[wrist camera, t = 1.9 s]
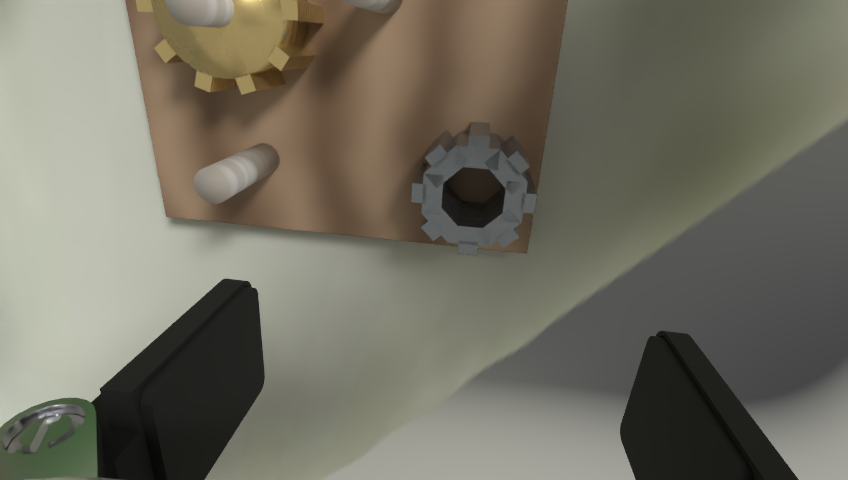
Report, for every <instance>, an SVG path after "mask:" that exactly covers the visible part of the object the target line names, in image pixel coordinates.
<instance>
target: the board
mask: <svg viewBox="0 0 848 480" xmlns="http://www.w3.org/2000/svg"><path fill="white" fill-rule="evenodd" d="M165 2H166V6H167V9H168V11H169V13H170V14H171V16H172V17H173V18H174V19H175V20H176V21H177V22H179V23H181V24H183V25H186V26H197V27H214V28H221V27H225V26H226V25H228V24H229V23H230V22H231V20H232V18H233V15H234V4H233V1H232V0H165ZM567 2H568V0H308V3H311V4H315V5H319V6H324V24H321V23H309V31H308V35H307V39H306V41H305V44H304V46H306V47H307V48H308V49H309V50H310V51H312V52H313V53H314V54H315V55H316V56H315V57H314V59H313V61H312V62H311V64H310V65H309V67H308V68H301V69H293V70H286V71H281V72H282V75H283V78H284V81H285V83H286V85H282V86H279V87H275V88H272V89H267V90H262V91H257V92H253V93H248V94H243V95H241V92H240V90H239V87H238V88H232V89H227V90H221V91H215V92H207V91H205V90H203V89H200V88H198V87H195V86H194V85H195V78H196V72H197V70H196V69H194V68H192V67H191V66H190V65H188V64H187V63H186V62H179V63H165V62H164V61H163V59H162V58H161V57H160V55H159V54H158V53H157V52H156V50H155V49H154V48H155V47H156V46H157V45H158V44H159V43H160V42H161V41H162V40H164V39H165V38H164V36H163V35H162V33H161V31H160V29H159V26H158V24H157V22H156V19H155V16H154V13H149V12H139V11H137V5H136V0H126V5H127V10H128V16H129V21H130V26H131V32H132V37H133V42H134V48H135V53H136V58H137V64H138V69H139V74H140V80H141V85H142V90H143V95H144V101H145V106H146V111H147V117H148V122H149V127H150V133H151V138H152V143H153V149H154V154H155V159H156V165H157V170H158V175H159V181H160V186H161V191H162V196H163V202H164V207H165V212H166V217H175V218H185V219H194V220H204V221H214V222H224V223H234V224H243V225H253V226H263V227H273V228H283V229H293V230H302V231H312V232H322V233H332V234H342V235H351V236H361V237H371V238H381V239H391V240H401V241H410V242H420V243H430V244H440V245H450V246H458V245H459V244H456V243H448V242H447V241H446V240H445V239H444V238H443V237H442V235H441V236H439V237H438V238H437V239H435V240H434V241H433V240H432V239H431V238H430V237H429V236H428V235H427V234H426V232H425V231H424V230H423V229H422V228H421V225H422V223H423V220H424V216H423V215H422V213H421V212H422V203H415V202H411V200H412V183H413V181H414V179H415V177H416V175H417V173H418V172H419V170H420V168H421V166H422V164H428V163H429V162H428V161H427V160H426V159H425V156H426V155H427V153H428V151H429V149H430V147H431V145H432V143H433V142H434V141H435V140H436V139H437V138H438V137H439V136H440V135H442V134H443V133H444V132H445V131H446V130H447V131H448V132H449V133H450V134H451V135H452V137H454V136H455V135H456V134H458V133H459V132H460V131H469V132H470V127H471V122H483V123H490V133H495V134H499V135H500V136H501V137H502V139H503V140H504V141H506V140H507V139H508V138H509V137H511V136H512V135H513V136H514V137H515V139H516V140H517V141H518V142H519V144H520V145H521V146H522V147H523V149H524V151H525V154H526V157H527V160H528V163H529V166H530V167H529V168H528V169H526V170H525V171H524V172H528V173H530V174H531V177H532V180H533V183H534V186H535V189H536V192H537V187H538V181H539V175H540V169H541V163H542V156H543V150H544V144H545V138H546V132H547V126H548V119H549V113H550V107H551V101H552V95H553V89H554V82H555V76H556V70H557V64H558V58H559V52H560V45H561V39H562V33H563V27H564V21H565V14H566V8H567ZM448 186H449V187H450V188H451V189H452V190H453V191H454V193H455V194H456V195H457V196H458V197H459V198H460V199H461V201H471V202H482V203H483V202H485V201H486V200H487V199H489V198H490V197H491V196H492V195H494V194H495V193H496V192H498V191H499V190H500V188H501V183H500V181H499V180H498V179H497V178H496V177H495V175H494V174H493V173H492V172H491V171H490V169H480V168H469V167H462V168H461V169H460V170H459V171H457V172H456V173H455V174H454V175H453V176H451V177H450V178H449V179H448ZM532 218H533V213H523V217H522V223H521V224H519V225H518V226H517V227H518V233H519V238H517V239H516V240H514V241H513V242H512V243H510V244H509V245H507V246H506V247H505V248H503V247H502V246H501V245H500V244H499V242H498V241H496V242H494V243H493V244H492V245H490V246H489V247H486V246H478V248H479V249H489V250H499V251H509V252H518V253H527V249H528V243H529V237H530V231H531V224H532Z"/></svg>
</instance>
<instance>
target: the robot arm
mask: <svg viewBox="0 0 848 480" xmlns="http://www.w3.org/2000/svg"><path fill="white" fill-rule="evenodd" d="M263 384H264V363H263V351H262V338H261V326H260V313H259V301H258V292H257V289H255V288H252V287H251V284H250V283H249V282H248V281H241V280H232V279H223V280H222V281H221V282H219V283H218V284H217V285H216V286H215V287H214V288H213V289H212V290H210V291H209V292H208V293H207V294H206V295H205V296H204V297H203V298H201V299H200V300H199V301H198V302H197V303H196V304H195V305H194V306H192V307H191V308H190V309H189V310H188V311H187V312H186V313H185V314H183V315H182V316H181V317H180V318H179V319H178V320H177V321H176V322H174V323H173V324H172V325H171V326H170V327H169V328H168V329H167V330H165V331H164V332H163V333H162V334H161V335H160V336H159V337H158V338H156V339H155V340H154V341H153V342H152V343H151V344H150V345H149V346H148V347H146V348H145V349H144V350H143V351H142V352H141V353H140V354H139V355H137V356H136V357H135V358H134V359H133V360H132V361H131V362H130V363H128V364H127V365H126V366H125V367H124V368H123V369H122V370H121V371H119V372H118V373H117V374H116V375H115V376H114V377H113V378H112V379H110V380H109V381H108V382H107V383H106V384H105V385H104V386H103V387H101V388H100V391H101V394H100V395H99V396H98V397H97V398H96V399H95V400H93V401H92V402H91V403H90V402H89V401H87V400H83V399H79V398H62V399H57V400H52V401H48V402H45V403H42V404H39V405H36V406H33V407H31V408H29V409H27V410H25V411H23V412H21V413H19V414H17V415H16V416H15V417H13V418H12V419H10V420H9V421H8V422H6V423H5V424H4V425H3V426H2V427H1V428H0V480H204V479H205V478H206V476H207V475H208V473H209V471H210V470H211V468H212V467H213V465H214V464H215V462H216V461H217V459H218V457H219V456H220V454H221V453H222V451H223V450H224V448H225V446H226V445H227V443H228V442H229V440H230V439H231V437H232V436H233V434H234V432H235V431H236V429H237V428H238V426H239V425H240V423H241V421H242V420H243V418H244V417H245V415H246V414H247V412H248V411H249V409H250V407H251V406H252V404H253V403H254V401H255V400H256V398H257V396H258V395H259V393H260V392H261V390H262V387H263ZM620 435H621V440H622V444H623V446H624V449H625V452H626V454H627V457H628V459H629V462H630V465H631V468H632V470H633V473H634V476H635V479H636V480H798V478H797V477H796V476H795V474H794V473H793V472H792V471H791V469H790V468H789V466H788V465H787V464H786V462H785V461H784V460H783V458H782V457H781V456H780V454H779V453H778V452H777V450H776V449H775V448H774V446H773V445H772V444H771V442H770V441H769V440H768V438H767V437H766V436H765V435H764V433H763V432H762V430H761V429H760V428H759V426H758V425H757V424H756V422H755V421H754V420H753V419H752V417H751V416H750V415H749V413H748V412H747V411H746V409H745V408H744V407H743V405H742V404H741V403H740V401H739V400H738V399H737V397H736V396H735V395H734V393H733V392H732V391H731V389H730V388H729V387H728V385H727V384H726V383H725V382H724V380H723V379H722V377H721V376H720V375H719V373H718V372H717V371H716V370H715V368H714V367H713V365H712V364H711V363H710V361H709V360H708V359H707V357H706V356H705V355H704V353H703V352H702V351H701V349H700V348H699V347H698V345H697V344H696V343H695V342H694V340H693V339H692V338H691V336H689V335H688V334H685V333H676V332H668V331H660V332H658V333H657V335H656V336H651V337H649V339H648V341H647V344H646V347H645V350H644V353H643V356H642V360H641V363H640V366H639V369H638V372H637V375H636V378H635V381H634V385H633V388H632V391H631V394H630V397H629V400H628V404H627V407H626V410H625V413H624V416H623V419H622V423H621V427H620Z"/></svg>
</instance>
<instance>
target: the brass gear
mask: <svg viewBox="0 0 848 480" xmlns="http://www.w3.org/2000/svg"><path fill="white" fill-rule="evenodd" d="M232 1H233V4H234V15H233V18H232V20H231V22H230V23H229V24H228V25H226V26H225V27H221V28H214V27H197V26H186V25H183V24H181V23H179V22H177V21H176V20H175V19H174V18H173V17H172V16H171V14H170V13H169V11H168V9H167V6H166V2H165V0H136V5H137V11H139V12H149V13H154V16H155V19H156V22H157V24H158V26H159V29H160V31H161V33H162V35H163V36H164V38H165V39H164V40H162V41H161V42H160V43H159V44H158V45H157V46H156V47H155V48H154V49H155V50H156V52H157V53H158V54H159V55H160V57H161V58H162V59H163V61H164V62H165V63H179V62H186V63H187V64H188V65H190V66H191V67H192V68H194V69H196V70H197V72H196V78H195V85H194V86H195V87H198V88H200V89H203V90H205V91H207V92H215V91H221V90H227V89H232V88H238V87H239V90H240V92H241V95H243V94H248V93H253V92H257V91H262V90H267V89H272V88H275V87H279V86H282V85H286V83H285V81H284V78H283V75H282V72H281V71H286V70H293V69H301V68H308V67H309V65H310V64H311V62H312V61H313V59H314V57H315V56H316V55H315V54H314V53H313V52H312V51H310V50H309V49H308V48H307V47H306V46H304V44H305V41H306V39H307V35H308V31H309V23H321V24H324V6H319V5H315V4H311V3H308V0H232Z"/></svg>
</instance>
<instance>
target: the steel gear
mask: <svg viewBox="0 0 848 480" xmlns="http://www.w3.org/2000/svg"><path fill="white" fill-rule="evenodd" d="M425 159H426V160H427V161H428V162H429V163H428V164H422V166H421V168H420V170H419V172H418V173H417V175H416V177H415V179H414V181H413V183H412V200H411V202H415V203H422V212H421V213H422V215H423V216H424V220H423V223H422V225H421V228H422V229H423V230H424V231H425V232H426V234H427V235H428V236H429V237H430V238H431V239H432V240H433V241H434V240H435V239H437V238H438V237H439V236H441V235H442V237H443V238H444V239H445V240H446V241H447V242H448V243H456V244H459V245H458V253H461V254H471V255H477V248H478V246H486V247H489V246H490V245H492V244H493V243H494V242H496V241H498V242H499V244H500V245H501V246H502V247H503V248H505V247H506V246H507V245H509V244H510V243H512V242H513V241H514V240H516V239H517V238H519V233H518V227H517V226H518V225H519V224H521V223H522V217H523V213H533V214H534V212H535V206H536V200H537V192H536V189H535V186H534V183H533V180H532V177H531V174H530V173H528V172H524V171H525V170H526V169H528V168H529V167H530V166H529V163H528V160H527V157H526V154H525V151H524V149H523V147H522V146H521V145H520V144H519V142H518V141H517V140H516V139H515V137H514V136H513V135H512V136H511V137H509V138H508V139H507V140H506V141H504V140H503V139H502V137H501V136H500V135H499V134H495V133H490V123H483V122H471V127H470V132H469V131H460V132H459V133H458V134H456V135H455V136H454V137H452V135H451V134H450V133H449V132H448V131H447V130H446V131H445V132H444V133H443V134H442V135H440V136H439V137H438V138H437V139H436V140H435V141H434V142H433V143H432V145H431V147H430V149H429V151H428V153H427V155H426V156H425ZM462 167H469V168H480V169H490V171H491V172H492V173H493V174H494V175H495V177H496V178H497V179H498V180H499V181H500V183H501V188H500V190H499V191H498V192H496V193H495V194H494V195H492V196H491V197H490V198H489V199H487V200H486V201H485V202H483V203H482V202H471V201H461V199H460V198H459V197H458V196H457V195H456V194H455V193H454V191H453V190H452V189H451V188H450V187H449V186H448V179H449V178H450V177H451V176H453V175H454V174H455V173H456V172H457V171H459V170H460V169H461V168H462Z"/></svg>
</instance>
